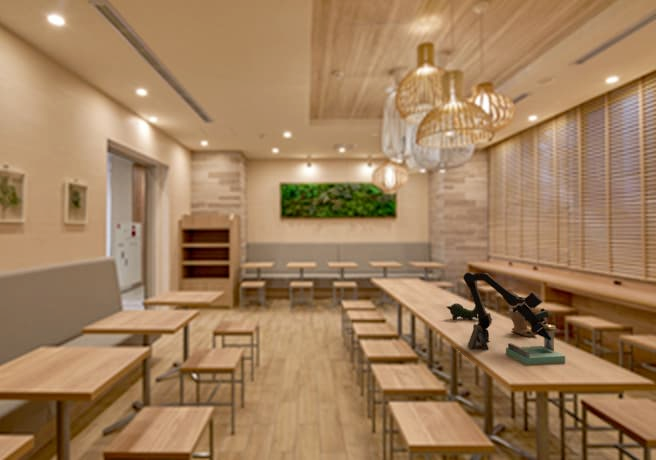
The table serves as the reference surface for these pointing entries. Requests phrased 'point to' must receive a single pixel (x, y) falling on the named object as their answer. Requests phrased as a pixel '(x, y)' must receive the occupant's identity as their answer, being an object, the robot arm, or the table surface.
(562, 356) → the jig
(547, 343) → the metal peg
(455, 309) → the toy figurine
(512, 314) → the tan boot
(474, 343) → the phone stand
